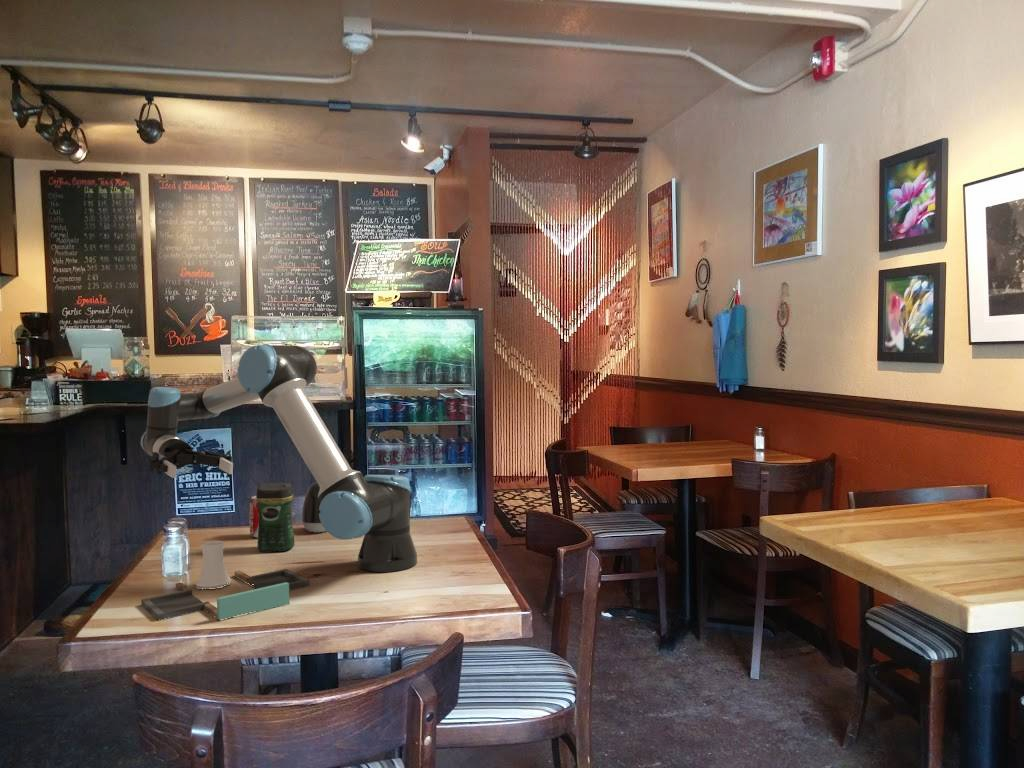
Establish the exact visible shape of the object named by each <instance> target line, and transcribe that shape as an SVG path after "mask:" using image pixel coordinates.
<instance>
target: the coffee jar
mask: <svg viewBox="0 0 1024 768" xmlns="http://www.w3.org/2000/svg"><path fill="white" fill-rule="evenodd" d="M255 496H256V501H257V504H258V507H259V529H258V538H257V550H259V552H266V553H268V552H269V553H276V552H275V551H279V552H284V551H287V550H291V549H293V548H294V547H295V534H294V527H293V518H292V502H293V499H294V492H293V486H292V483H289V482H288V483H286V482H268V483H263V484H260V485H259V486H257V489H256V495H255ZM272 551H273V552H272Z"/></svg>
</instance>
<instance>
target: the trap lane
mask: <svg viewBox="0 0 1024 768" xmlns="http://www.w3.org/2000/svg"><path fill="white" fill-rule="evenodd" d="M235 576H237V577H239V578H240V579H242V580H243V581H242V580H241V581H242V582H244V581H245V582H247V583H249V584H250V585H252V584H254V585H252V586H254V587H255V588H257V589H259V588H263V587H268V586H272V585H276V584H281V583H285V582H287V583H289V589H291V590H295V588H296V589H300V588H304V587H308V586H310V580H309V579H308V578H306V577H304V576H301V575H300V574H299V573H295V572H294V571H291V570H289V569H288V568H283V569H279V570H278V569H277V570H275V571H270V572H265V573H261V574H255V575H252V576H251V575H249V574H247V573H245V572H244V571H242V570H234V577H235ZM237 577H236V578H237ZM239 578H238V579H239ZM240 579H239V580H240ZM245 582H244V583H245ZM247 583H246V584H247ZM249 584H248V585H249ZM250 585H249V586H250ZM252 586H251V587H252ZM254 587H253V588H254ZM299 587H300V588H299ZM255 588H254V589H255ZM175 589H176V591H175V592H172V593H167V594H161V595H158V596H156V595H155V596H152V597H148V598H143V599H141V606H142V607H143V608H144V609H145V610H146V611H147V612H148V613H149V614H150V615H152V616H153V617H154V616H155V617H156V618H157V619H158V620H159V619H163V620H165V619H164V618H167V619H169V618H168V617H172V618H174V617H173V616H176V617H179V616H178V615H180V616H183V615H182V614H184V615H187V614H186V613H189V614H192V613H191V612H193V613H196V612H195V611H197V612H200V611H199V610H202V611H205V610H206V611H208V612H209V613H210V614H212V615H213V616H215V617H216V618H217V606H215V605H214V604H213V603H211V602H209V601H204V602H203V601H201V599H199V598H198V597H196V596H195V595H193V589H191V588H190V587H188V586H187V585H186V584H184V583H183V582H176V583H175ZM178 590H179V591H178ZM203 609H205V610H203ZM206 611H205V612H206ZM208 612H207V613H208ZM209 613H208V614H209ZM210 614H209V615H210ZM212 615H211V616H212ZM213 616H212V617H213ZM155 617H154V618H155ZM156 618H155V619H156ZM216 618H215V619H216ZM157 619H156V620H157ZM158 620H157V621H158ZM159 621H160V620H159Z"/></svg>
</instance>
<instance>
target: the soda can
mask: <svg viewBox="0 0 1024 768" xmlns="http://www.w3.org/2000/svg"><path fill="white" fill-rule="evenodd" d="M256 496H257V495H253V496H251V500H250V501H249V514H248V515H249V534H250V536H251V537H253V538H254V537H255V538H254V539H258V529H259V507H258V504H257V501H256Z"/></svg>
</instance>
